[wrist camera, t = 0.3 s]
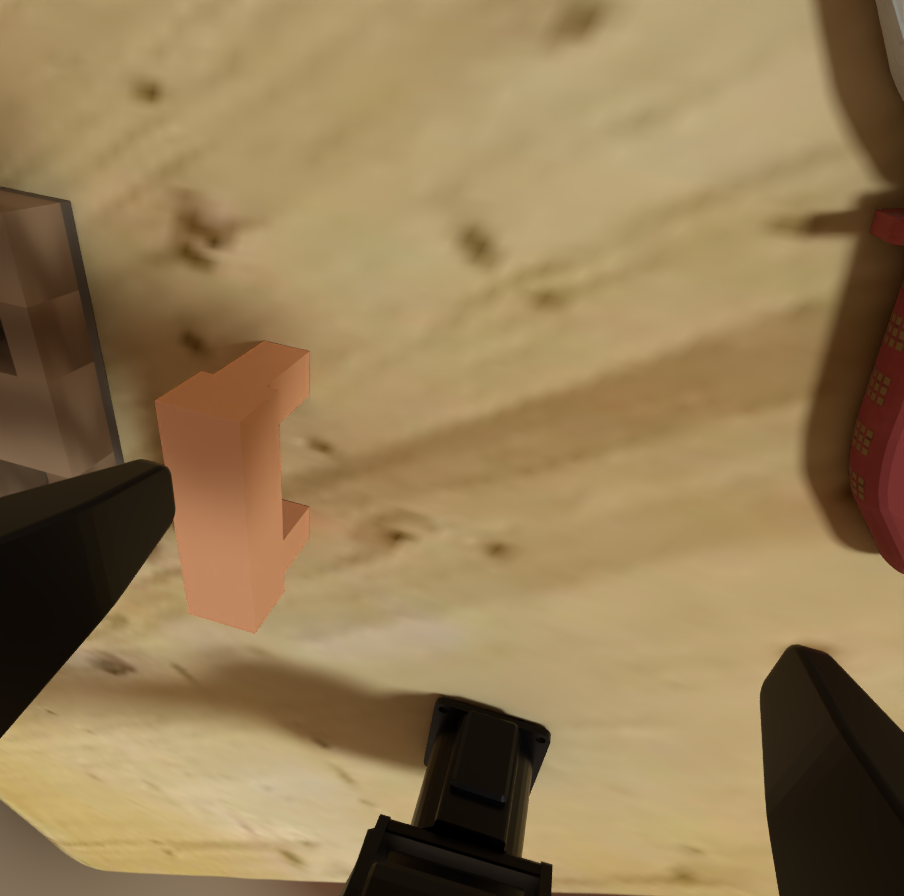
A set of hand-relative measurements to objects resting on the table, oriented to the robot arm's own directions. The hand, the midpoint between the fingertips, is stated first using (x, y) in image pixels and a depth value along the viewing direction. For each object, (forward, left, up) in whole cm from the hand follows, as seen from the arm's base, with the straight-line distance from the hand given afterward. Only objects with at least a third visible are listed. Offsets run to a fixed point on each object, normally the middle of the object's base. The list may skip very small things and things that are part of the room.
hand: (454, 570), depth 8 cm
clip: (-9, +10, -14) cm, 19 cm away
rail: (-9, +22, -14) cm, 28 cm away
